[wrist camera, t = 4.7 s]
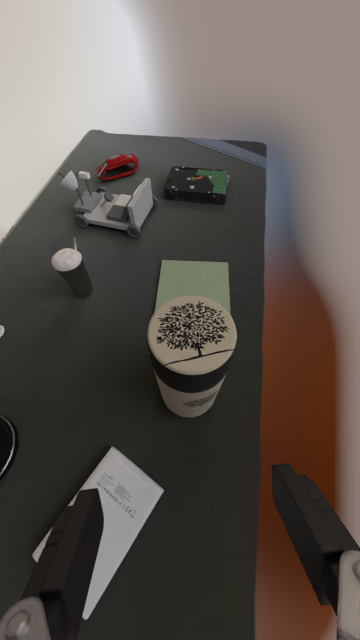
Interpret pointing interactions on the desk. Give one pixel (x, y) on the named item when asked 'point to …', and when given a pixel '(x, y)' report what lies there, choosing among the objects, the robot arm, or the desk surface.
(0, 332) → the chess pawn
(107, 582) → the hard drive
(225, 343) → the travel mug
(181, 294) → the mat
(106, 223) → the toy car
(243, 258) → the desk surface
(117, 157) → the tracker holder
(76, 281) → the milkshake
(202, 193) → the disk drive
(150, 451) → the desk surface
